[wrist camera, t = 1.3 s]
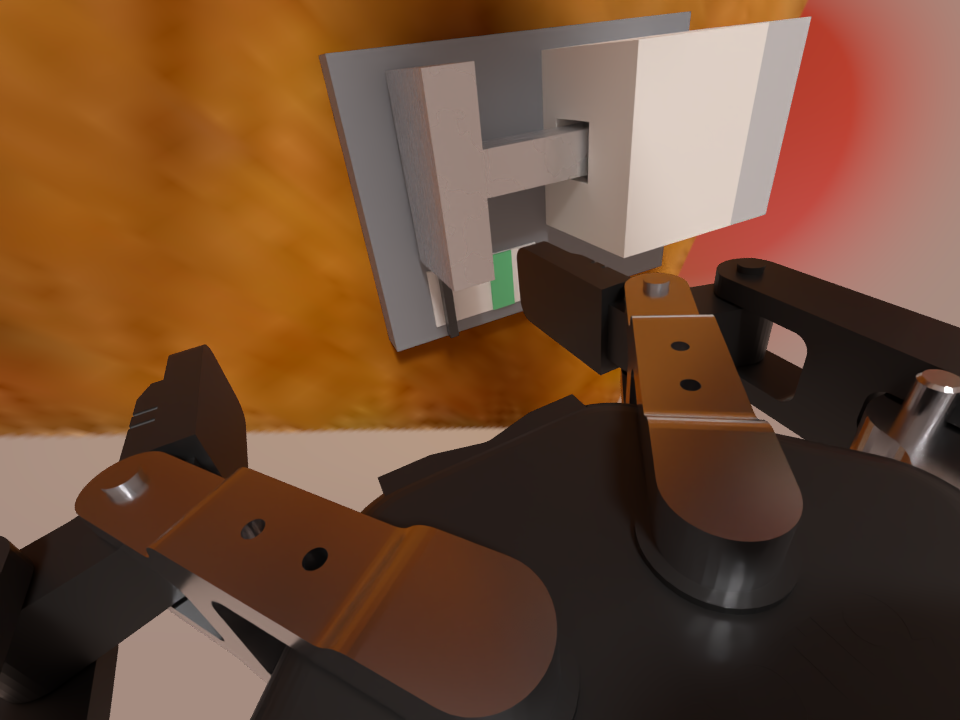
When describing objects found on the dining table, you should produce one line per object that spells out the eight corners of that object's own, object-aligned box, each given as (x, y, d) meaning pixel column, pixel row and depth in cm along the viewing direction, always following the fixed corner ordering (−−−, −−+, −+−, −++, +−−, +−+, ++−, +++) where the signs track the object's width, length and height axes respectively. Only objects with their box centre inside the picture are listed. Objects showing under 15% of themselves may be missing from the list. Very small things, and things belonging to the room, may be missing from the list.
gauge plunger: (384, 71, 23) (420, 67, 19) (575, 45, 27) (643, 38, 22) (434, 337, 32) (467, 376, 27) (574, 291, 35) (622, 320, 31)
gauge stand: (318, 55, 24) (363, 41, 16) (667, 15, 31) (817, -9, 23) (389, 339, 33) (439, 417, 25) (644, 258, 40) (745, 300, 32)
